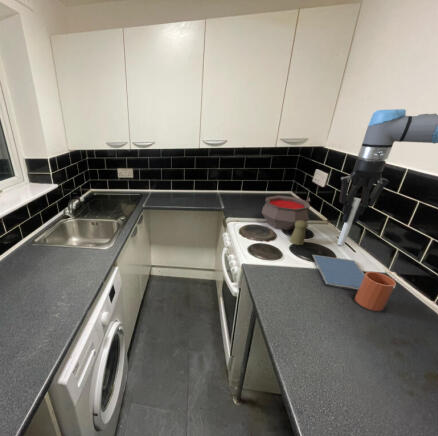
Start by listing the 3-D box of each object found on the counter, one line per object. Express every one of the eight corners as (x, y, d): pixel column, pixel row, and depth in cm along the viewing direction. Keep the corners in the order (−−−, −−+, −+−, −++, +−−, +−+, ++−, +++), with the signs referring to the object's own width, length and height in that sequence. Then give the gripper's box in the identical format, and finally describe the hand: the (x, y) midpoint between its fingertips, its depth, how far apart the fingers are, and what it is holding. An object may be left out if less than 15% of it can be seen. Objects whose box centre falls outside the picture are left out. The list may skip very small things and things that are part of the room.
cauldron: (294, 216, 139) (300, 190, 132) (316, 235, 117) (325, 205, 111) (253, 215, 142) (257, 190, 135) (267, 234, 120) (273, 205, 113)
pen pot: (376, 298, 77) (388, 274, 73) (387, 313, 71) (401, 288, 67) (351, 293, 80) (361, 269, 76) (360, 308, 74) (371, 283, 70)
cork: (304, 240, 113) (309, 220, 108) (304, 246, 108) (309, 225, 104) (289, 237, 116) (294, 217, 111) (289, 243, 111) (294, 222, 107)
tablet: (353, 262, 96) (354, 260, 95) (377, 294, 79) (378, 292, 78) (311, 256, 101) (312, 254, 100) (325, 285, 84) (326, 283, 83)
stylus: (342, 245, 93) (359, 197, 85) (344, 247, 91) (362, 199, 83) (335, 244, 94) (352, 197, 85) (337, 247, 92) (354, 199, 83)
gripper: (348, 160, 77) (328, 223, 87) (407, 162, 72) (378, 228, 82) (340, 156, 84) (322, 215, 94) (394, 158, 79) (369, 220, 89)
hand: (348, 221), depth 88 cm, fingers closed on stylus, 2 cm apart
